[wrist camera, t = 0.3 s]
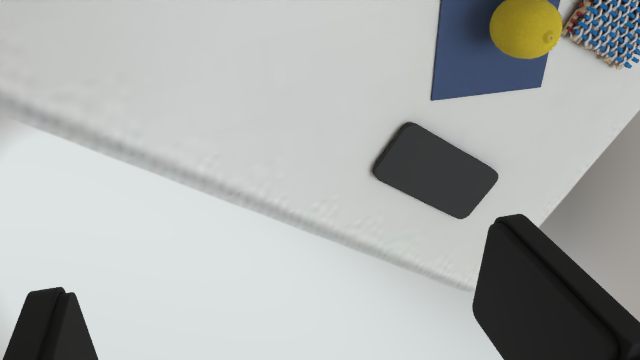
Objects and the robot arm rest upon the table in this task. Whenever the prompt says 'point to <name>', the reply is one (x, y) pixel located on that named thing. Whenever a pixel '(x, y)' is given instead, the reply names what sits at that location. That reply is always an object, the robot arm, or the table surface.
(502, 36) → the lemon
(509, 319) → the robot arm
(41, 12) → the table surface
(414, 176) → the phone
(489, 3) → the cloth
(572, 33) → the woven mat
